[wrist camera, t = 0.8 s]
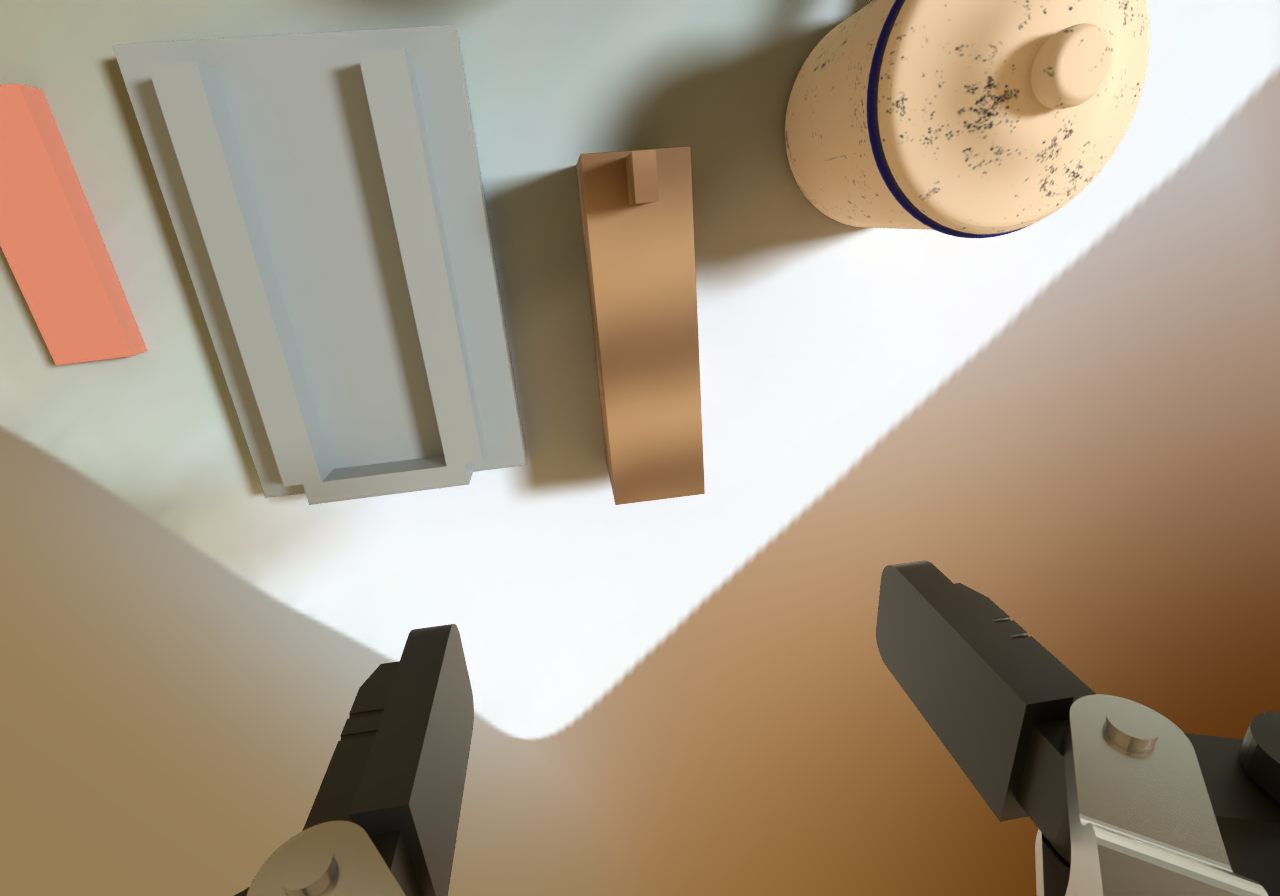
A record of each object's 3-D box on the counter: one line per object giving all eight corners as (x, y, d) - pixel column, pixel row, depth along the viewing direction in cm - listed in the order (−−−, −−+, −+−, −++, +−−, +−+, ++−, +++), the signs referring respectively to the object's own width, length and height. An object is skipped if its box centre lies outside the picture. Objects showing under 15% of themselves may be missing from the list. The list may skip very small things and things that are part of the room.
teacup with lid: (922, 254, 30) (1135, 274, 19) (749, 203, 28) (875, 193, 17) (1033, -33, 26) (1378, -214, 15) (843, -115, 24) (1080, -389, 13)
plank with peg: (576, 165, 26) (583, 148, 20) (666, 159, 27) (702, 139, 20) (606, 462, 31) (620, 526, 25) (682, 453, 32) (715, 513, 25)
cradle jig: (133, 53, 23) (81, 32, 20) (457, 33, 24) (446, 12, 21) (276, 487, 29) (250, 512, 27) (526, 455, 30) (524, 477, 28)
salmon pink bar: (-34, 99, 23) (-72, 91, 22) (50, 91, 23) (18, 83, 22) (81, 357, 27) (55, 365, 25) (153, 348, 27) (132, 355, 26)
